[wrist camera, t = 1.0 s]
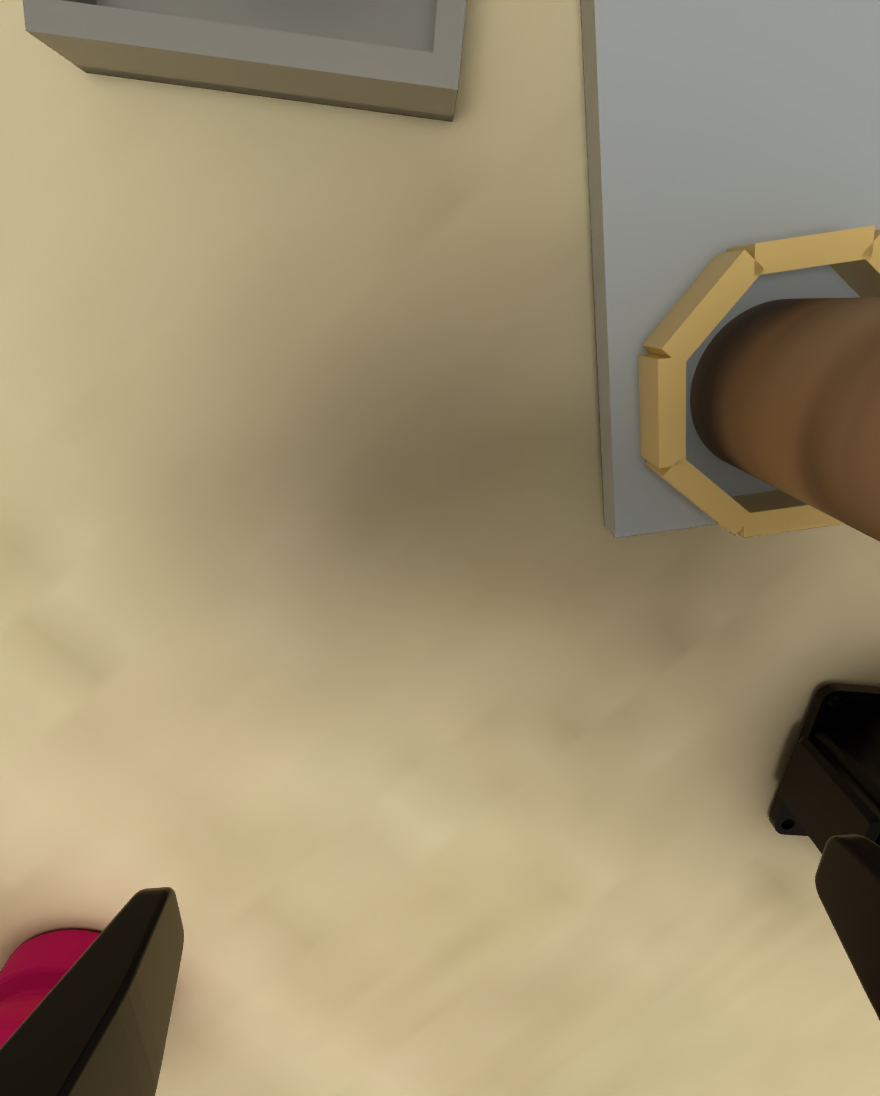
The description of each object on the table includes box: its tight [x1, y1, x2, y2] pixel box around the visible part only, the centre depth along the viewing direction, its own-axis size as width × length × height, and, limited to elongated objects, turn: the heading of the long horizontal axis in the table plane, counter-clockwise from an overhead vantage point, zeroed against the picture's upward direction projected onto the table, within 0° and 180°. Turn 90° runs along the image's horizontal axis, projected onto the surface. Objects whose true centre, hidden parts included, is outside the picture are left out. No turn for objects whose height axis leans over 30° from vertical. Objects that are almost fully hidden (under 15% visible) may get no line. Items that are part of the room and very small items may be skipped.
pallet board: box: [581, 0, 880, 538], centre depth 15 cm, size 22×9×3 cm, turn 8°
